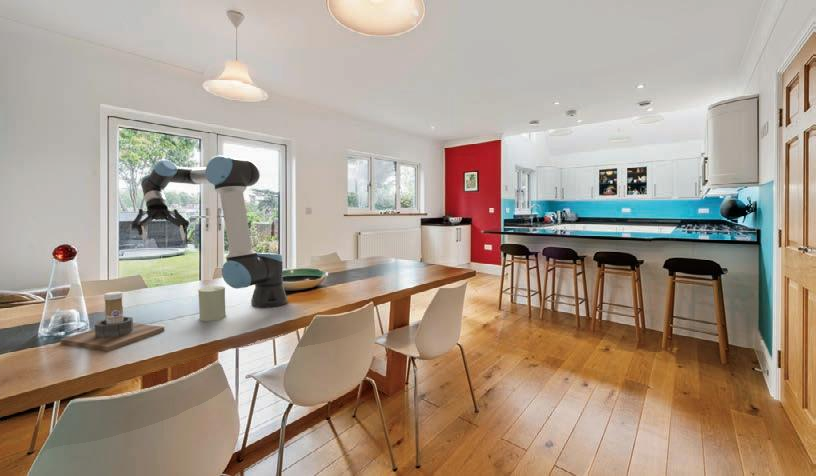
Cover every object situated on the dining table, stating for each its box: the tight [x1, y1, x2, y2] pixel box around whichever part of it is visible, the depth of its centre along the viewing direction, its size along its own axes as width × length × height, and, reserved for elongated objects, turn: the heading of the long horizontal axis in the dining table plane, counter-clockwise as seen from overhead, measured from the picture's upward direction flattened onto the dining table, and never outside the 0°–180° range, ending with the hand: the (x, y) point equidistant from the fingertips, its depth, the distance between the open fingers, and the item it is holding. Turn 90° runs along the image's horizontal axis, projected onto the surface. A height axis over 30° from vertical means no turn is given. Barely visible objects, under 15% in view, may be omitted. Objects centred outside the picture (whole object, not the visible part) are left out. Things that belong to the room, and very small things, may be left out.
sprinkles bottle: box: [103, 291, 124, 325], centre depth 113 cm, size 5×5×14 cm
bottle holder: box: [59, 315, 165, 352], centre depth 113 cm, size 20×18×6 cm
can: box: [198, 285, 227, 322], centre depth 135 cm, size 9×9×12 cm
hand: (165, 239), depth 144 cm, fingers open, 13 cm apart
